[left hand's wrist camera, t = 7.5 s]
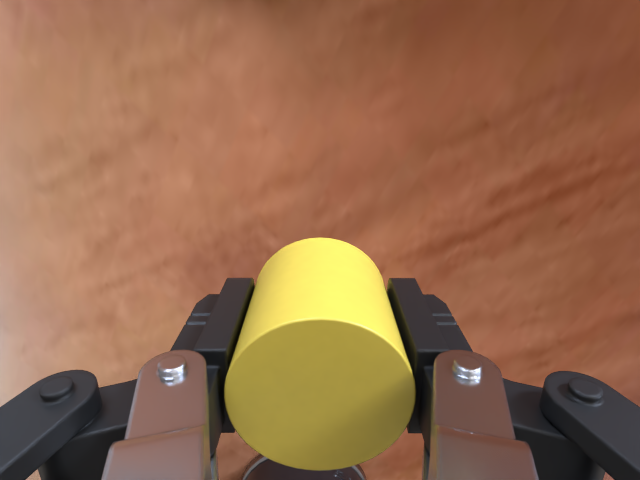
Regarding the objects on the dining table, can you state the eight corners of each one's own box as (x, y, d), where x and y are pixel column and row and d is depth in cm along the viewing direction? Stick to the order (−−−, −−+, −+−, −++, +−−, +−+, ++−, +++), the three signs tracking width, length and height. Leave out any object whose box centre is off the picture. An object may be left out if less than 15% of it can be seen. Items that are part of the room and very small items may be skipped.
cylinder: (340, 370, 13) (349, 495, 9) (232, 317, 13) (191, 426, 9) (410, 277, 12) (456, 374, 8) (295, 212, 12) (282, 283, 7)
